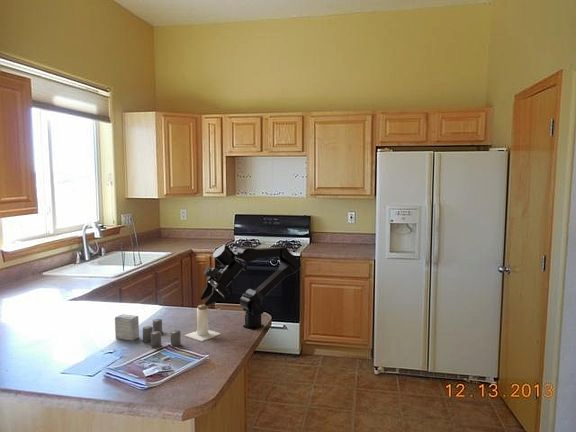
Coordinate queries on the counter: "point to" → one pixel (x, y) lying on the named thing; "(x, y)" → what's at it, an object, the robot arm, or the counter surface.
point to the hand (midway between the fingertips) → (203, 302)
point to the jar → (202, 320)
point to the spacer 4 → (176, 338)
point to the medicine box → (126, 327)
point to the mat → (202, 338)
